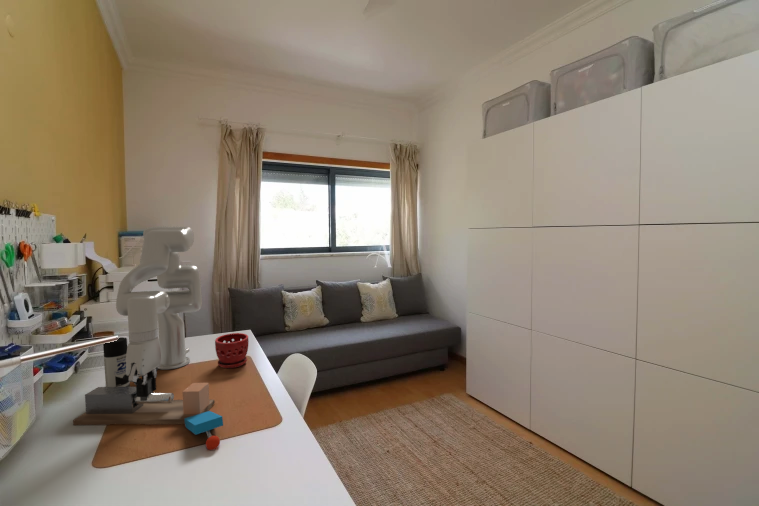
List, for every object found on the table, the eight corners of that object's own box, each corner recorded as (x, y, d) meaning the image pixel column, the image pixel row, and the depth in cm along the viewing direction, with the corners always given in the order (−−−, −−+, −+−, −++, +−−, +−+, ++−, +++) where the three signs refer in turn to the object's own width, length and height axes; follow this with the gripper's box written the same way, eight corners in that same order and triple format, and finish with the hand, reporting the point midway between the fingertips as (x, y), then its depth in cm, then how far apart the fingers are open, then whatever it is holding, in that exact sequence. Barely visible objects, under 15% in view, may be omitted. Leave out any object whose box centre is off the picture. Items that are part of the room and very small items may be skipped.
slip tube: (104, 401, 110) (102, 378, 110) (174, 400, 110) (173, 377, 110) (96, 405, 107) (95, 382, 107) (168, 405, 107) (167, 381, 107)
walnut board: (104, 404, 115) (104, 400, 115) (214, 403, 115) (214, 399, 115) (73, 425, 103) (73, 420, 103) (195, 424, 103) (195, 419, 103)
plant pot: (209, 366, 147) (208, 338, 146) (237, 357, 158) (236, 331, 157) (227, 373, 140) (226, 344, 139) (255, 363, 151) (254, 335, 150)
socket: (193, 404, 112) (193, 382, 111) (209, 404, 112) (208, 382, 111) (183, 413, 106) (182, 391, 105) (199, 413, 106) (199, 391, 105)
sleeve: (99, 405, 111) (98, 387, 111) (143, 405, 111) (142, 386, 111) (86, 414, 106) (84, 394, 106) (132, 413, 106) (131, 394, 106)
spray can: (117, 401, 117) (114, 343, 115) (101, 399, 118) (97, 342, 117) (135, 392, 123) (132, 337, 122) (119, 391, 125) (116, 336, 123)
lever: (186, 443, 102) (200, 456, 88) (184, 418, 103) (197, 427, 89) (211, 434, 106) (229, 445, 92) (209, 410, 107) (226, 418, 93)
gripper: (149, 328, 115) (151, 382, 117) (111, 344, 99) (114, 406, 100) (171, 328, 115) (174, 382, 117) (137, 344, 99) (140, 406, 100)
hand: (146, 393), depth 108 cm, fingers closed on slip tube, 3 cm apart
